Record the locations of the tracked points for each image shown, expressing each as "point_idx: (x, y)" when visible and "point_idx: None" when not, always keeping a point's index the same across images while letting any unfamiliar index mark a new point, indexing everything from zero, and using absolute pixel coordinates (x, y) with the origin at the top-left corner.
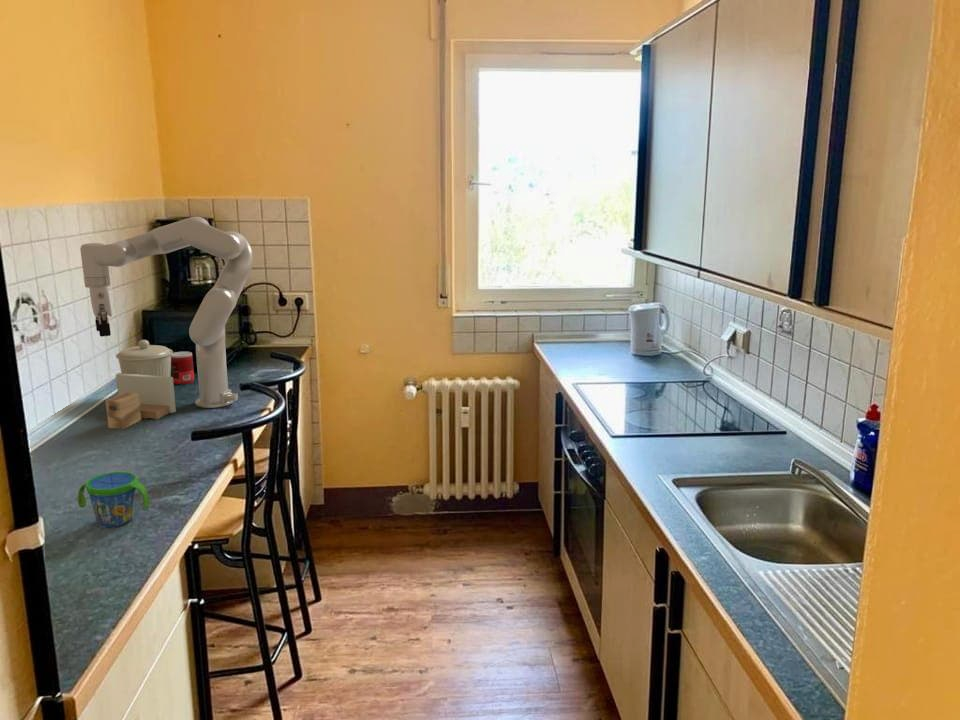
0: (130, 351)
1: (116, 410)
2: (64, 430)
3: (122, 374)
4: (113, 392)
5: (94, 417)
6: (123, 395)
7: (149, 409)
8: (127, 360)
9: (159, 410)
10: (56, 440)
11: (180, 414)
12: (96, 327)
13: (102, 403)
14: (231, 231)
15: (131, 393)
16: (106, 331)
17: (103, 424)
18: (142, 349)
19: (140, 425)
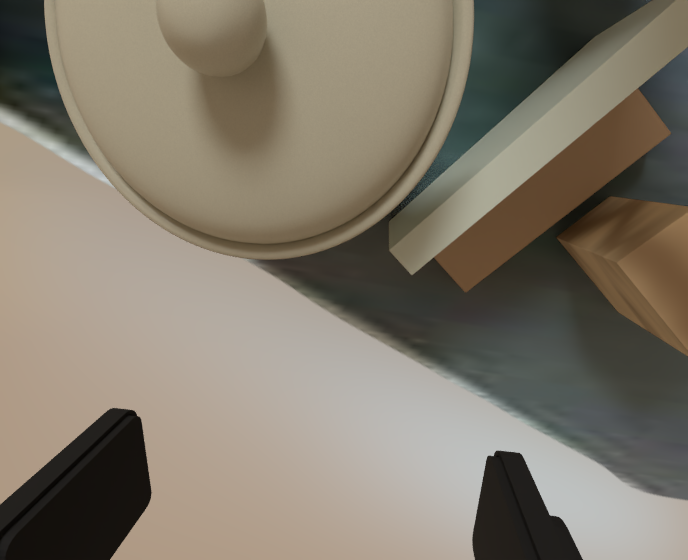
0: (286, 165)
1: None
2: (541, 422)
3: (433, 243)
4: None
5: (456, 327)
6: (670, 278)
7: (606, 154)
8: (391, 208)
9: (655, 117)
10: (630, 454)
11: None
12: (119, 540)
13: (295, 276)
14: None
15: (662, 237)
16: (567, 552)
17: (561, 318)
18: (272, 56)
19: None
